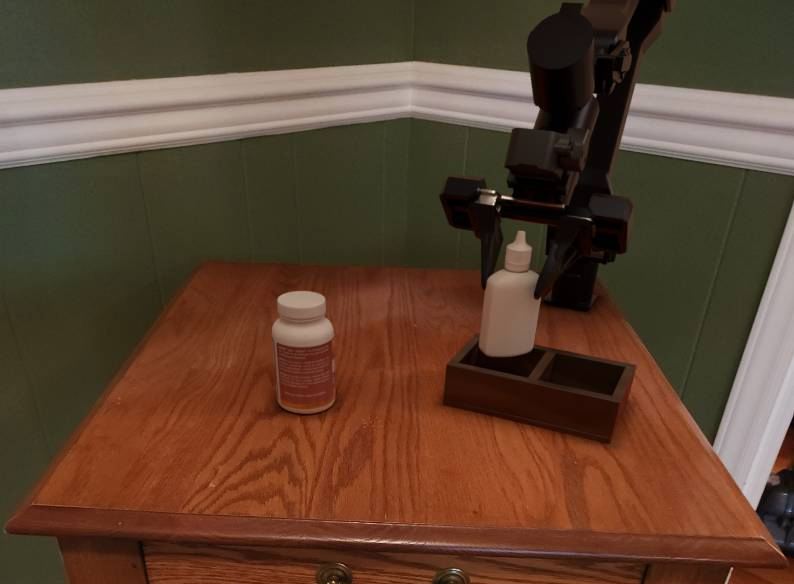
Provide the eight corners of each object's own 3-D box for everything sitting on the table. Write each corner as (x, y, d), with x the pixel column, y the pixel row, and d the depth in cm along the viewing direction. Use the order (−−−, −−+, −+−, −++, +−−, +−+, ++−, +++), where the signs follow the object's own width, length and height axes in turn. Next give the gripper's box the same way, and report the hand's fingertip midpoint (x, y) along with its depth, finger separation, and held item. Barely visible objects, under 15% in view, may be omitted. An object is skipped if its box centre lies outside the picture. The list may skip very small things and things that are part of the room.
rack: (471, 370, 84) (476, 332, 82) (626, 404, 79) (637, 364, 76) (442, 404, 78) (446, 364, 75) (609, 444, 72) (620, 402, 69)
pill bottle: (346, 407, 76) (345, 303, 70) (294, 421, 74) (287, 315, 67) (317, 384, 80) (314, 283, 74) (267, 397, 78) (258, 294, 71)
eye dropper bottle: (480, 339, 79) (493, 222, 71) (533, 345, 78) (552, 227, 70) (476, 356, 75) (489, 236, 68) (531, 362, 74) (550, 241, 67)
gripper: (453, 78, 68) (400, 233, 67) (658, 97, 62) (603, 267, 61) (473, 156, 78) (428, 291, 77) (650, 178, 72) (603, 324, 71)
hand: (509, 292), depth 71 cm, fingers closed on eye dropper bottle, 5 cm apart
